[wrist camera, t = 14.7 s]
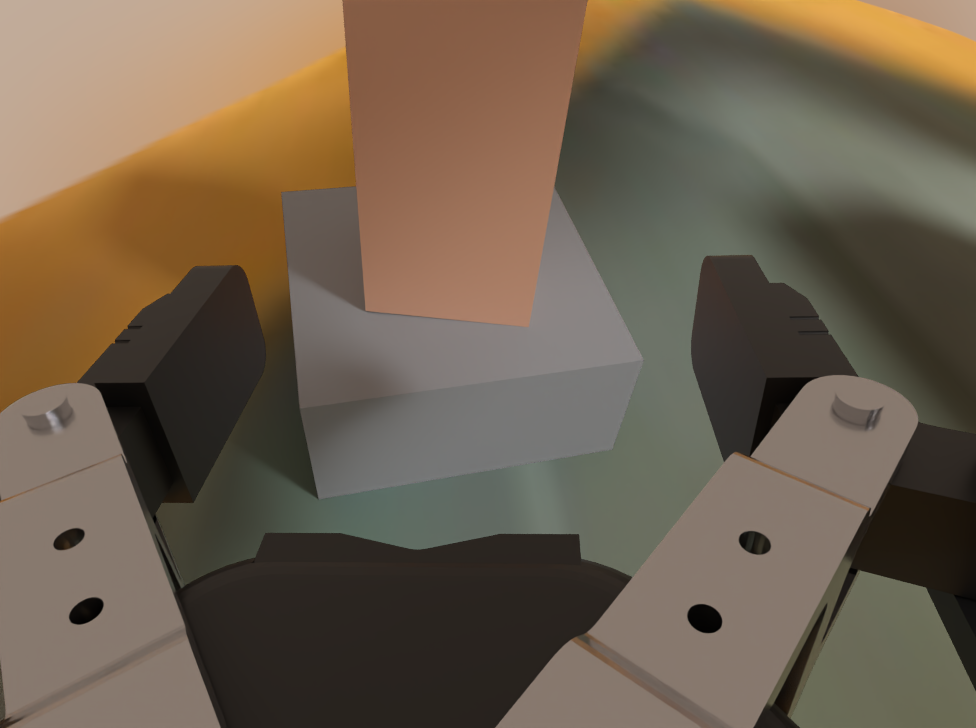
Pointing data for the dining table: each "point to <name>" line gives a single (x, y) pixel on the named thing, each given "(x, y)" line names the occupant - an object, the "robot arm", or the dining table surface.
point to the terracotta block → (457, 149)
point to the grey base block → (447, 363)
